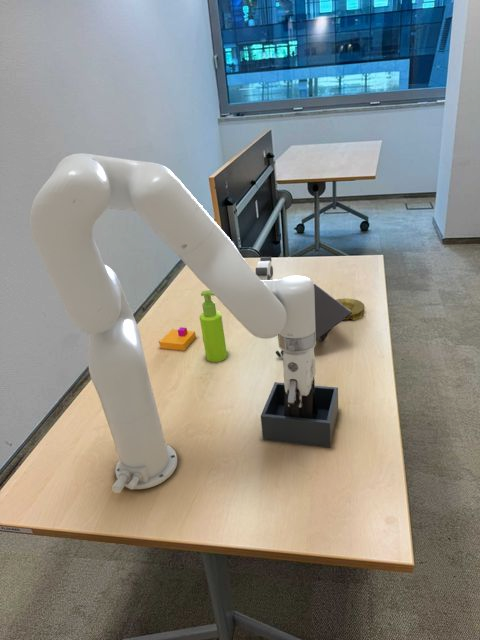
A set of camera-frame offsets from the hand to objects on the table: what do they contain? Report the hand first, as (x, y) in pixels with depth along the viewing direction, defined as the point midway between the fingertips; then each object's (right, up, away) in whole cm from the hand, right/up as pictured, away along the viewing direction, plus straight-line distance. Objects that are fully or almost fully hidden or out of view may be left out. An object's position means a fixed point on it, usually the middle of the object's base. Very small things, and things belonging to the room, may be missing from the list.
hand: (300, 407), depth 104 cm
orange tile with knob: (-34, +14, +40) cm, 54 cm away
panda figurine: (-7, +28, +59) cm, 65 cm away
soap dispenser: (-21, +10, +31) cm, 39 cm away
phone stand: (0, -4, +2) cm, 5 cm away
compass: (+18, +24, +48) cm, 57 cm away
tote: (0, -4, +2) cm, 5 cm away
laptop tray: (+3, +16, +36) cm, 40 cm away
